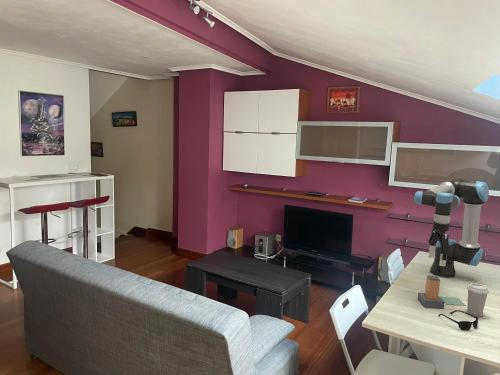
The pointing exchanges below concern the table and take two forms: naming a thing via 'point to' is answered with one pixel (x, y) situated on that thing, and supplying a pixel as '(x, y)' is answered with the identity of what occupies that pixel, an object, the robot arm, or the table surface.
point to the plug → (432, 287)
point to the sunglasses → (464, 324)
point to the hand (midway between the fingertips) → (436, 261)
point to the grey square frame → (431, 301)
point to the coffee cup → (476, 299)
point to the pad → (452, 301)
